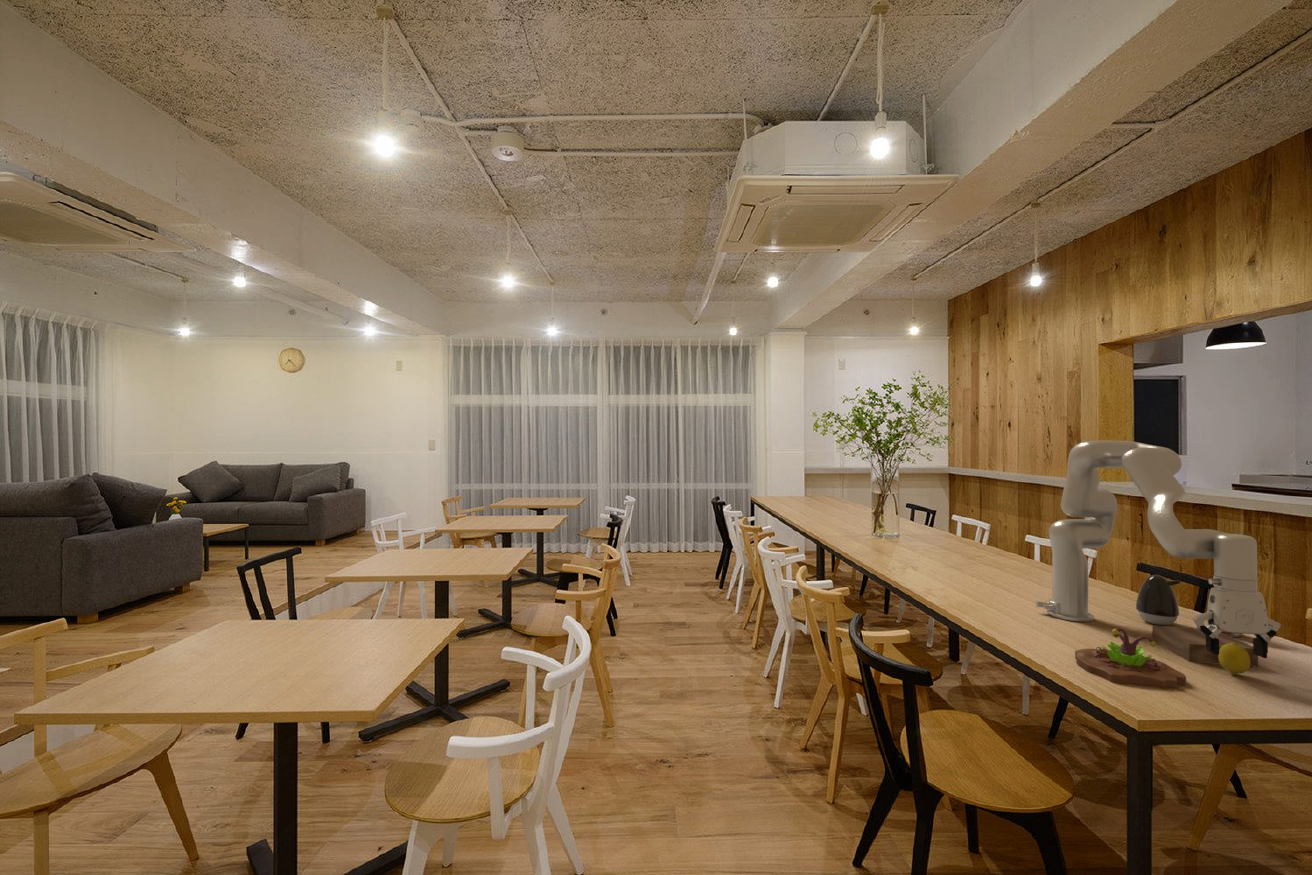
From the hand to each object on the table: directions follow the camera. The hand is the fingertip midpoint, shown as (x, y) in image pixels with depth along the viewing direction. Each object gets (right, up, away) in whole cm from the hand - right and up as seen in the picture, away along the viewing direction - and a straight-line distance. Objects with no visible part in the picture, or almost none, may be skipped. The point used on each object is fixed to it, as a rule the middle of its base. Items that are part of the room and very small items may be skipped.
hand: (1236, 654), depth 139 cm
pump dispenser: (+16, -6, +40) cm, 43 cm away
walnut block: (+6, -6, +15) cm, 17 cm away
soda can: (+28, -6, +30) cm, 41 cm away
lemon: (0, -5, 0) cm, 5 cm away
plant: (-26, -6, +2) cm, 26 cm away
